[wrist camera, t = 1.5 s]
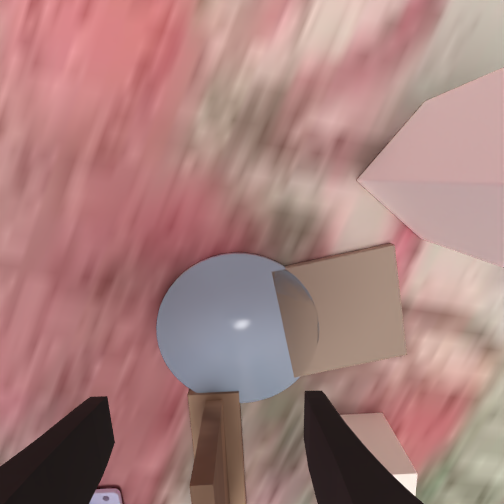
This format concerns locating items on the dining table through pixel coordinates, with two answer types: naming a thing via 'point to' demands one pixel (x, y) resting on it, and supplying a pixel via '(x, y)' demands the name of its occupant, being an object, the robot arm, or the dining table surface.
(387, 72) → the dining table surface
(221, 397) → the brown upright panel
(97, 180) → the dining table surface
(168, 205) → the dining table surface
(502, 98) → the milk
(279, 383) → the light blue plate
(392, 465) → the letter cube
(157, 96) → the dining table surface
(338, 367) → the cork mat
